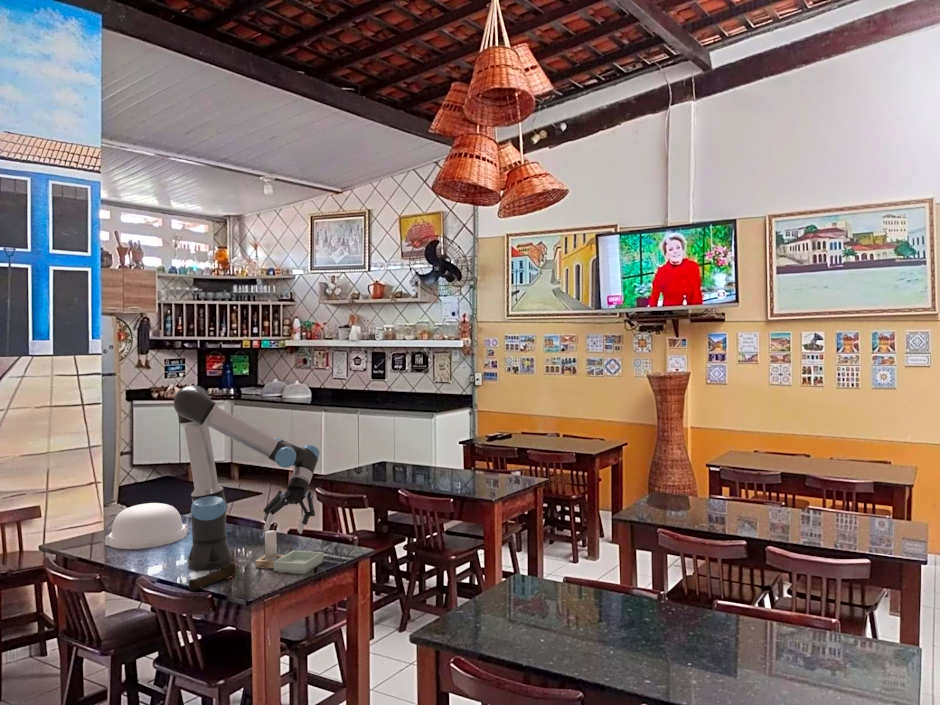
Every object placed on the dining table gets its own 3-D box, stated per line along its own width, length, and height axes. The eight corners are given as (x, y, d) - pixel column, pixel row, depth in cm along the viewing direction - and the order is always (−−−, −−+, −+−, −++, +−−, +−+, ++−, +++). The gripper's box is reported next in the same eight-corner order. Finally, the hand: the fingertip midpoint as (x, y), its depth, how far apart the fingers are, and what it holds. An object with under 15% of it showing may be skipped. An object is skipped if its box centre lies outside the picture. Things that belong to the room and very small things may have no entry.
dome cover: (180, 525, 330) (179, 494, 329) (196, 540, 304) (195, 506, 304) (100, 537, 312) (99, 504, 312) (110, 554, 287) (108, 518, 287)
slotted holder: (255, 567, 265) (255, 560, 265) (267, 561, 273) (267, 554, 273) (275, 569, 263) (275, 561, 263) (286, 562, 271) (286, 555, 270)
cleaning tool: (263, 566, 266) (262, 532, 266) (269, 563, 270) (268, 530, 270) (273, 566, 265) (272, 533, 265) (279, 563, 269) (278, 530, 269)
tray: (273, 571, 260) (273, 561, 260) (293, 559, 273) (293, 550, 273) (305, 573, 257) (304, 563, 256) (323, 561, 270) (323, 552, 270)
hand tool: (196, 593, 240) (196, 578, 240) (188, 591, 242) (187, 576, 242) (241, 576, 257) (241, 562, 257) (233, 574, 259) (232, 561, 259)
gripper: (333, 488, 287) (317, 537, 273) (274, 486, 293) (255, 534, 279) (326, 477, 281) (310, 527, 267) (266, 475, 287) (247, 524, 273)
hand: (282, 531), depth 273 cm, fingers open, 13 cm apart
